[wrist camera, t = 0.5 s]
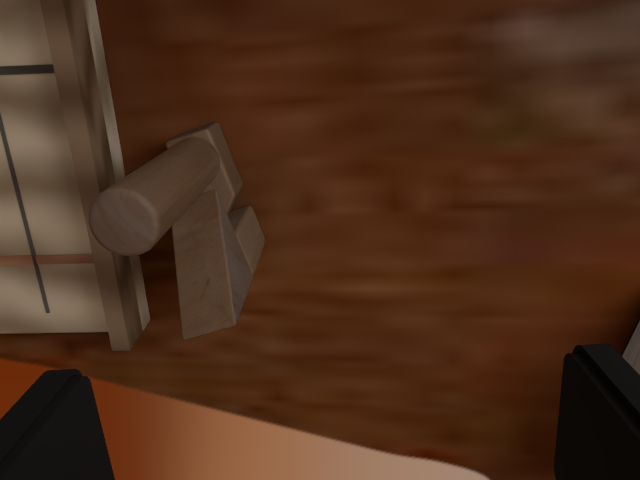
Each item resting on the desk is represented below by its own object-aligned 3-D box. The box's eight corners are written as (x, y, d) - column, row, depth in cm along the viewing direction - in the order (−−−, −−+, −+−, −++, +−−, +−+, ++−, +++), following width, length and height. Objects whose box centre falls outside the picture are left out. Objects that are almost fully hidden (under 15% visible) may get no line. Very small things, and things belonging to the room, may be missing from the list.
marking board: (-97, -14, 38) (-157, -21, 34) (91, -22, 38) (56, -31, 33) (0, 322, 48) (-36, 352, 44) (150, 319, 48) (130, 350, 43)
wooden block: (228, 253, 45) (163, 380, 28) (177, 134, 42) (68, 199, 25) (267, 241, 45) (225, 363, 28) (219, 119, 41) (138, 175, 24)
